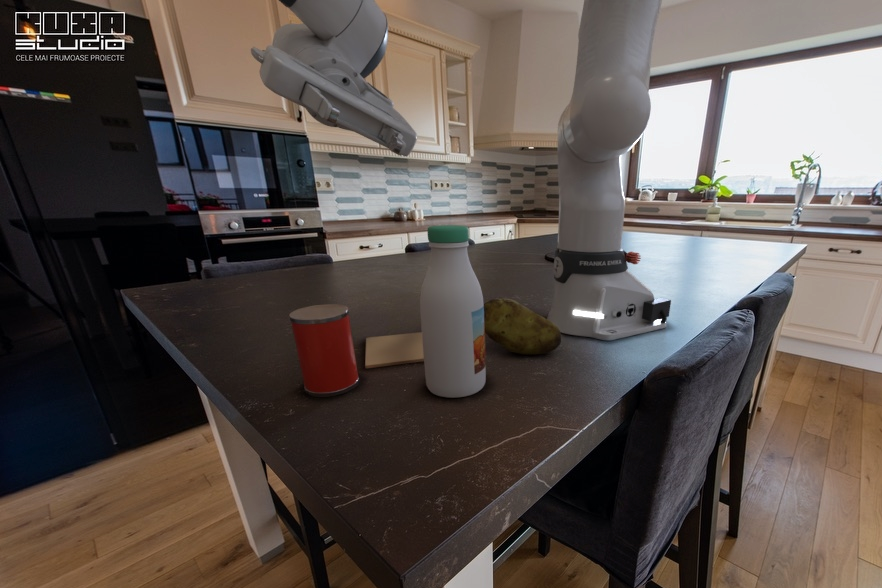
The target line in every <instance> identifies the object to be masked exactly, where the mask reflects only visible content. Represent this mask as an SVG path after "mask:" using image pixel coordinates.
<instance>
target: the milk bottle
mask: <svg viewBox="0 0 882 588" xmlns="http://www.w3.org/2000/svg"><path fill="white" fill-rule="evenodd" d="M427 240H428V245H427V246H428V247H429V248H430V260H429V263H428V267H427V270H426V273H425V276H424V279H423V280H422V281H423V282H422V285H421V288H420V295H419V312H420V313H419V314H420V326H421V327H420V329H421V332H422V343H423V355H424V361H423V362H424V363H423V365H424V374H425V375H424V376H425V377H424V379H425V386H426V387H427V389H428V390H429V392H430V393H432V394H433V395H436V396H438V397H443V398H451V399H454V398H463V397H468V396H472V395H475V394H476V393H478V392H479V391H481V390H482V389H483V388H484V387H485V385H486V380H487V377H486V376H487V371H486V370H487V369H486V368H487V364H486V363H487V362H486V361H487V360H486V333H485V325H484V305H483V304H484V296H483V292H482V288H481V284H480V282H479V280H478V278H477V275H476V273H475V271H474V269H473V266H472V265H471V264H472V263H471V261H470V258H469V254H468V247H470V244H469V240H470V232H469V227H468V226H465V225H458V224H441V225H431V226H428V227H427Z"/></svg>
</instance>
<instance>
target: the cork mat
mask: <svg viewBox="0 0 882 588" xmlns="http://www.w3.org/2000/svg"><path fill="white" fill-rule="evenodd" d="M364 358H365V362H364V367H365V369H366V370H367V369H373V368H381V367H391V366H397V365H406V364H413V363H420V362H424V355H423V343H422V331H419V332H410V333H409V332H408V333H399V334H391V335H379V336H369V337H366V338H365V357H364Z"/></svg>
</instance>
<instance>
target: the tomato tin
mask: <svg viewBox="0 0 882 588" xmlns="http://www.w3.org/2000/svg"><path fill="white" fill-rule="evenodd" d="M349 314H350V311H349V307H348V306H346V305H342V304H335V303H334V304H332V303H331V304H330V303H329V304H327V303H326V304H317V305H309V306H305V307H302V308H298V309H295V310H293V311H292V312H290V313H289V315H288V316H289V321H290V323H291V328H292V333H293V338H294V342H295V347H296V352H297V357H298V361H299V366H300V372H301V376H302V380H303V381H302V382H303V387H304V392H305V393H306V395H308V396H311V397H316V398H330V397H335V396H340V395H342V394H346V393H348V392H350V391H352V390H354V389H355V388H356V387H357V386H359V383H360V377H359V375H358V374H359V373H358V368H357V367H358V366H357V360H356V354H355V353H356V352H355V347H354V341H353V334H352V333H353V332H352V327H351V321H350V315H349Z"/></svg>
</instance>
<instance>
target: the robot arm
mask: <svg viewBox="0 0 882 588" xmlns="http://www.w3.org/2000/svg"><path fill="white" fill-rule="evenodd" d="M278 2H280V3H281V4H282V5H283V6H284V7H285V8H287V9H289V10H290V11H291V12H292V13H293V14H294V15H295V16H296V17H297V19H299V20H300V22H302V23H294V22H291V23H285V24H283V25H280V27H278V28H277V30H276V31H275V32H274V34H273V38H272V42H271V44H270V45H269V44H268V45H267V46H266V47H265V49H262V50H261V49H260V48H258V47H256V46H252V47H251V48H250V54H251V55H252V56H251V57H253V58H254V59H255V60H256V61H257V62H259V63H260V67H259V76H260V80H261V81H262V83H263V85H264V86H265V87H266V88H267V89H269V90H270V91H271V92H272V93H274V94H276V95H278V96H280V97H281V98H284V99H286V100H288V101H290V102H292V103H294V104H296V105H298V106H300V107H302V108H304V109H305V110H306V111H307V112H308V114H309V115H310V116H311V117H312V118H313V119H314V120H316V121H317V122H318V123H320V124H321V125H325V126H326V127H330V128H338V129H341V130H345V131H350V132H354V133H356V134H358V135H360V136H362V137H363V138H366V139H368V140H370V141H372V142H374V143H376V144H378V145H381V146H383V147H384V148H386V149H389V151H390V152H392V153H393V154H396V155H398V156H400V157H401V156H403V157H408V156H410V154H411V153H412V151H413V150H414V147H415V146H416V143H417V140H418V134H417V132H416V130H415V129H414V128H413V127H412V126H411V124H410V123H409V122H408V121H407V120H406V119H405V117H403V116H402V114H401V113H400V112H399V111H398V110H396V109H395V108H394V106H395V104H394V102H393V100H392V99H391V98H389V97H388V96H387V95H386V94H384V93H383V92H381V91H380V90H379V89H377V88H376V87H375V86H373V85H372V84H371V83H370V82H368V81H366V78H367V77H368V76H370V75H371V74H372V73H373V72H374V71H375V70H376V68H377V67H378V66H379V65H380V63H381V62H382V60H383V58H384V56H385V54H386V51H387V46H388V40H389V39H388V38H389V23H388V19H387V15H386V14H385V12H383V10H382V9H381V7H380V6H379V4H378V3H377V1H376V0H278ZM662 4H663V0H583V5H582V11H581V17H580V23H579V28H578V34H577V35H578V36H577V37H578V43H577V55H576V66H575V74H574V82H573V89H572V90H573V91H572V94H571V97H570V100H569V103H568V104H567V105H566V106H565V108H564V109H563V111H562V113H561V114H560V117H559V119H558V123H557V178H558V179H557V183H558V225H557V226H558V227H557V247H555V249H554V260H553V278H554V286H553V292H552V298H551V302H550V307H549V311H548V315H547V316H546V319H547V320H549V321H550V322H552V323H553V324H555V325H556V326H557V327H558V328H559V330H560V333H561V334H566V335H570V336H571V335H572V336H578V337H588V338H593V339H598V340H601V341H615V340H619V339H622V338H627V337H632V336H636V335H640V334H645V333H649V332H654V331H658V330H662V329H665V328H667V320H668V319H667V318H669V316H670V311H671V304H672V300H671V299H667V298H664V297H660V298H655V296H654V293H653V291H652V290H651V289H650V288H649V287H648V286H646V285H645V283H643V282H642V281H641V280H639V278H637V277H636V276H635V275H634V274H633V273H631V271H630V270H629V267H628V264H632V265H638V264H639V262H641V258H642V255H641V254H640V253H639V252H634V251H628V252H627V251H626V250H624V249H622V243H623V241H622V240H623V232H624V231H623V230H624V222H625V211H626V198H625V195H624V191H623V181H622V168H621V166H622V165H621V157H622V156H623V155H624V154H627V152H630V150H631V149H632V148H633V147H634V146H635V145H636V143H637V142H638V141H639V140H640V138H641V137H642V135H643V134H644V132H645V131H646V129H647V127H648V124H649V122H650V118H651V112H652V111H651V110H652V102H651V98H650V97H651V96H650V94H649V93H650V92H649V90H650V79H651V69H652V68H651V65H652V55H653V54H652V53H653V46H654V39H655V35H656V29H657V25H658V20H659V16H660V11H661V7H662Z"/></svg>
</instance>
